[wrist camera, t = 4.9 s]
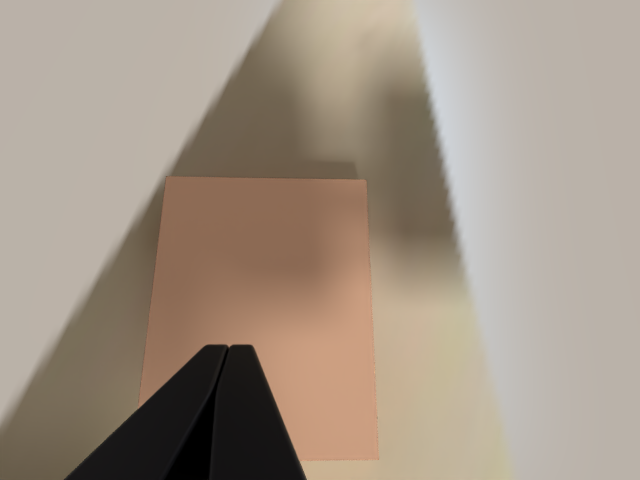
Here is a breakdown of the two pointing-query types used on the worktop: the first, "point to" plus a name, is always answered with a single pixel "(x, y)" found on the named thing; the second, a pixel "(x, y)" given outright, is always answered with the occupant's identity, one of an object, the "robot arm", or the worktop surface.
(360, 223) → the block
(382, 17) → the worktop surface
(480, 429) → the worktop surface
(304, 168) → the worktop surface
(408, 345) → the worktop surface
